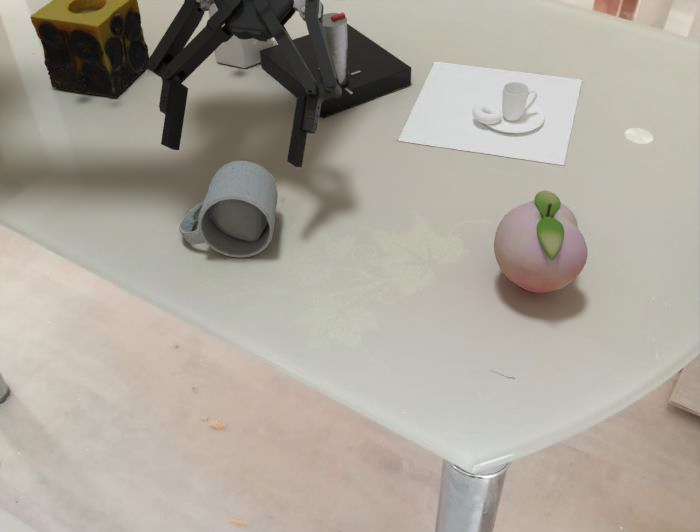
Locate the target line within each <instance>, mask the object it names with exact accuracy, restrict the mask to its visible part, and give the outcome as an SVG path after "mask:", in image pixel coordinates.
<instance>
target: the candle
mask: <svg viewBox="0 0 700 532" xmlns="http://www.w3.org/2000/svg"><path fill="white" fill-rule="evenodd" d="M30 20H31V21H30V22H31V24H32V25H33V27H34V30H35V33H36V36H37V38H38V39H39V41H40V43H41V46H42V49H43V56H44V57H43V58H44V65H45V67H46V70H47V71H48V76H49V80H50V84H51V87H52V88H53V89H59V90H66V91H68V92H75V93H80V94H82V93H84V94H87V95H96V96H101V97H107V98H117V97H119V96H120V94H121V93H123V92H124V91H125V90H126V89H127V87H129V86H130V85H131V84H132V83H133V82H135V81H136V79H137V78H138V77H139V76H140V75H141V74H143V72H144V71H145V70H146V69H148V68H147V61H148V60H149V58H150V55H149V47H148V44H147V42H146V40H145V35H144V29H143V27H142V16H141V12H140V8H139V1H138V0H51V1H49V2H48V3H47V4H45V5H43V6H41V8H39V9H38V10H37V11H35V12H33V13H32V14H31V15H30Z"/></svg>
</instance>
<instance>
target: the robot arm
mask: <svg viewBox="0 0 700 532" xmlns="http://www.w3.org/2000/svg"><path fill="white" fill-rule="evenodd" d="M214 3H215V5H216V7H217V9H218V11H217V12H216V13H215V14H214V15H213V16H212V17H211V18H208V19H207V21H206V25H205V26H204V27H203V28H202V29H201V30H200V31H199V32H198V33H197V34H196V35H195V36H194V37H193V38H192V39H191V37H192V36H193V34H194V32H195V31H196V29H197V28H198V26H199V24H200V23H201V21H202V20H203V17H204V15H205V12H208V11H209V10H210V6H211V5H212V4H214ZM296 12H298V15H299V16H300V18H301V20H303V21H304V22H305V24H306V25H305V26H306V28H307V31H308V35H310V39H311V42H312V46H313V49H314V52H315V56H316V59H317V63H318V66H319V69H320V73H321V76H322V80H323V83H319V84H317V82H316V80H315V79H314V77H313V75H312V73H311V72H310V70H309V68H308V67H307V65H306V63H305V62H304V60H303V58H302V56H301V55H300V53H299V51H298V50H297V48H296V46H295V44H294V43H293V38H292V37H291V35H290V34H289V32H288V30H287V28H286V26H285V25H286V24H287V23H288V21H289V20H291V18H293V16H294V15H295V13H296ZM323 15H324V4H323V2H322V1H321V0H184V1H183V3H182V4H181V7H180V8H179V10H178V11H177V13H176V15H175V16H174V18H173V19H172V21H171V22H170V24H169V26H168V27H167V28H166V31H165V33H164V34H163V36H162V37H161V38H160V40H159V42H158V44H157V45H156V47H155V48H154V50H153V51H152V53H151V55H149V60H148V61H147V68H146V69H147V70H148V71H150V72H152V73H153V74H154V75H156V76H158V77H159V78H161V82H162V83H161V88H160V89H161V91H160V97H159V104H158V109H159V112H160V113H162V114H164V121H163V126H162V127H163V128H162V135H161V143H160V145H162V146H163V147H166V148H168V149H170V150H173V151H180V147H181V140H182V134H183V127H184V121H185V113H186V106H187V101H188V94H189V88H188V87H187V86H186V85H184V84H183V82H185V80H187V79H188V78H189V77H190V76H191V75H192V74H193V73H194V72H195V71H196V70H197V69H198V68H199V67H200V66H201V65H202V64H203V63H204V62H205V61H206V60H207V59H208V58H209V57H210V56H211V55H212V53H215V50H216V49H217V48H218V47H219V46H220V45H221V44H222V43H223V42H227V41H228V40H229V39H230V38H231V37H232V36H233V35H234V36H236V37H237V38H238V39H245V40H246V39H252V38H254V39H256V40H259V41H264V42H267V40H268V39H271V40H272V39H273V38H274V40H275V41H276V43H277V45H279V47H280V48H281V50H282V52H283V53H284V55H285V57H286V59H287V60H288V62H289V64H290V65H291V67H292V69H293V71H294V72H295V74H296V76H297V77H298V79H299V81H300V83H301V84H302V86H303V88H304V89H305V92H306V93H307V96H303V95H297V97H296V102H295V109H294V115H293V119H292V120H293V121H292V127H291V132H290V140H289V146H288V152H287V158H286V162H287V163H288V164H290V165H291V166H292V167H295V168H301V169H302V168H303V162H304V156H305V150H306V144H307V137H308V134H312V135H315V134H316V132H317V131H318V127H319V120H320V116H319V115H320V109H321V104H322V102H323V101H324V100H326V99H329V98H338V97H340V96H341V94H342V89H341V86H340V82H339V79H338V75H337V72H336V69H335V65H334V62H333V58H332V55H331V52H330V48H329V45H328V41H327V38H326V35H325V31H324V28H323ZM224 23H225V25H224V26H223V27H222V25H223V24H224ZM190 39H191V40H190Z"/></svg>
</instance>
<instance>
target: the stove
mask: <svg viewBox="0 0 700 532" xmlns="http://www.w3.org/2000/svg"><path fill="white" fill-rule="evenodd" d="M347 38H348V67H349V82H348V83H347V84H346V85H345V86H343V87H341V89H342V94H341V96H340V97H338V98H329V99H326V100H324V101H323V102H322V104H321V109H320V115H319V118H321V119H324V118H327V117H329V116H332V115H335V114H338V113H341V112H343V111H346V110H349V109H351V108H353V107H356V106H359V105H361V104H364V103H367V102H369V101H372V100H374V99H377V98H380V97H382V96H385V95H388V94H391V93H393V92H396V91H398V90H401V89H403V88H406V87H409V86H411V85H412V67H411V66H410V65H408V64H407V63H406V62H404V61H403V60H401V59H400V58H398V57H397V56H395V55H394V54H393V53H391V52H390V51H388V50H387V49H386V48H384V47H382V46H381V45H379V44H378V43H377V42H375V41H374V40H372V39H371V38H369V37H368V36H366V35H365V34H363V33H362V32H360V31H359V30H358V29H356V28H355V27H354V26H351V25H350V24H349V23H347ZM292 40H293V43H294V44H295V46H296V48H297V50H298V51H299V53H300V55H301V56H302V58H303V60H304V62H305V63H306V65H307V67H308V68H309V70H310V72H311V73H312V75H313V77H314V79H315V80H316V82H317V84H319V83H321V73H320V69H319V66H318V63H317V59H316V56H315V52H314V49H313V46H312V42H311V39H310V35H309V34H305V35H302V36H299V37H297V38H294V39H293V38H292ZM260 57H261V63H260V65H261V68H262V69H263V70H264V71H265V72H266V73H268V74H269V75H270V76H271V77H272V78H273V79H275V80H276V81H277V82H278V83H280V85H282V86H283V87H284V88H285V89H286V90H287V91H289V92H290V94H292V95H294V96H295V97H296V98H297V95H303V96H307V93H306V92H305V89H304V88H303V86H302V84H301V83H300V81H299V79H298V77H297V76H296V74H295V72H294V71H293V69H292V67H291V65H290V64H289V62H288V60H287V59H286V57H285V55H284V53H283V52H282V50H281V48H280V47H279V45H278V44H276V45H273V46H272V47H269V48H266V49H263V50H260Z"/></svg>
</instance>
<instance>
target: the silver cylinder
mask: <svg viewBox="0 0 700 532" xmlns="http://www.w3.org/2000/svg"><path fill="white" fill-rule="evenodd" d="M347 24H348V18H347V17H346V14H345V12H340V13H338V12H329V13H328V12H327V13H323V28H324V31H325V35H326V38H327V41H328V45H329V48H330V52H331V55H332V58H333V62H334V65H335V69H336V72H337V75H338V79H339V82H340V86H341V87H343V86H345V85H346V84H347V83H348V82H349V67H348V38H347ZM321 83H323V80H322V76H321Z"/></svg>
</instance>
